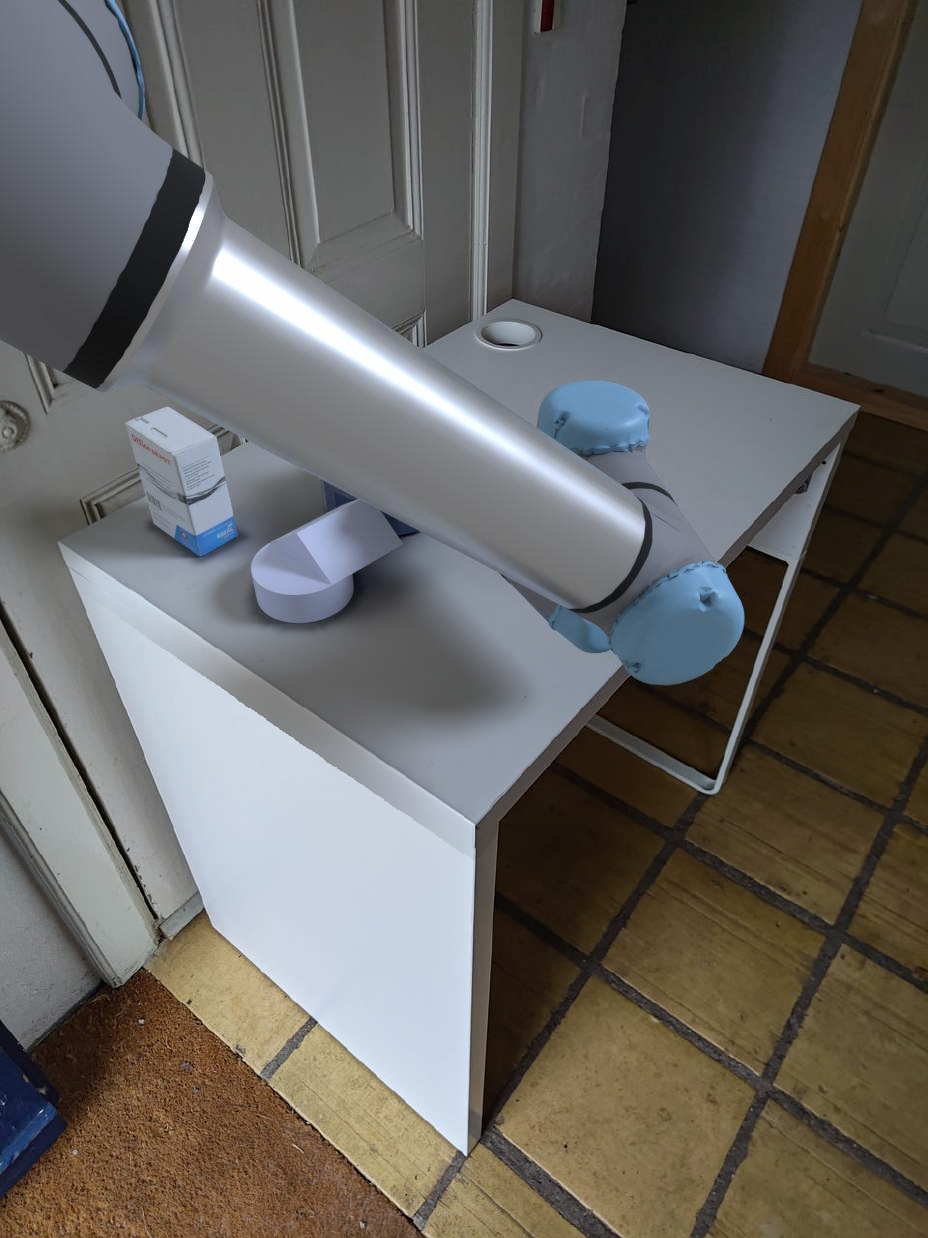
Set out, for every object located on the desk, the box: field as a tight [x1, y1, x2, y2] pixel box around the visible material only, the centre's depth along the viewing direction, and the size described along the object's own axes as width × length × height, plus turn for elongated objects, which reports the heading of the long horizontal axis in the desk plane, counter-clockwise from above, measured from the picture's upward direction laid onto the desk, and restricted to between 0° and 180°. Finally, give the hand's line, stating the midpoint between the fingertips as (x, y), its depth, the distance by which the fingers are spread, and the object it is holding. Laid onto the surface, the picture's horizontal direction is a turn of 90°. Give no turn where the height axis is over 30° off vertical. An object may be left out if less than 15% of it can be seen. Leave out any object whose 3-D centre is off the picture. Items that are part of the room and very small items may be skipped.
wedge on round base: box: [250, 499, 404, 624], centre depth 80 cm, size 9×7×13 cm
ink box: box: [124, 406, 239, 557], centre depth 84 cm, size 8×5×12 cm, turn 46°
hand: (376, 403), depth 88 cm, fingers closed on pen, 2 cm apart
